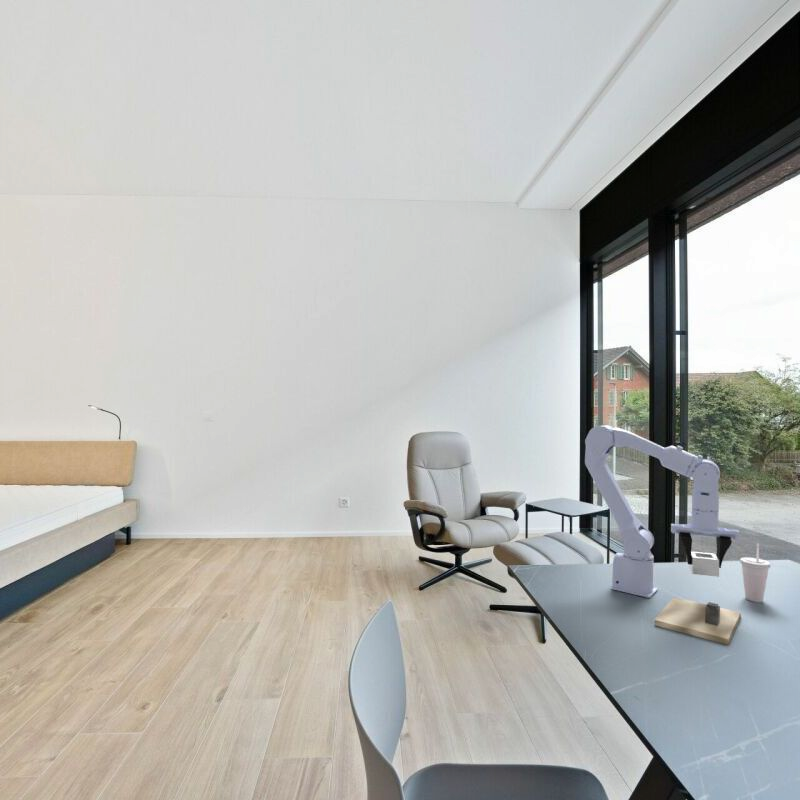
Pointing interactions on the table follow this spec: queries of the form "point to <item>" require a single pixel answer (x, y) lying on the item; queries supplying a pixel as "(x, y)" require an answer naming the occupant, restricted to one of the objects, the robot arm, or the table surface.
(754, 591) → the smoothie
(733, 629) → the post board
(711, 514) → the robot arm
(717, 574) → the steel collar
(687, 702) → the table surface
